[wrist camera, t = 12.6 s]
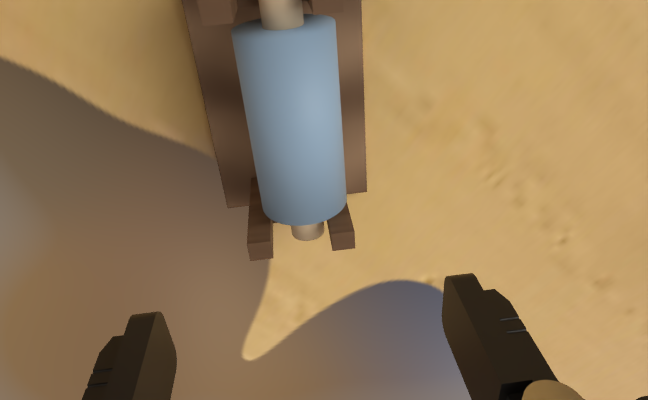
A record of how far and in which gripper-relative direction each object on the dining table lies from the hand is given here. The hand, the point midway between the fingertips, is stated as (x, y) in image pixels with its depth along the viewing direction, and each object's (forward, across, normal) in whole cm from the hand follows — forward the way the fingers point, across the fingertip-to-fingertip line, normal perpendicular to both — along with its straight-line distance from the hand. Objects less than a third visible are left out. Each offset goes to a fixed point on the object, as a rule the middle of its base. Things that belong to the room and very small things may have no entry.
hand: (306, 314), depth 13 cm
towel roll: (+16, +1, 0) cm, 16 cm away
